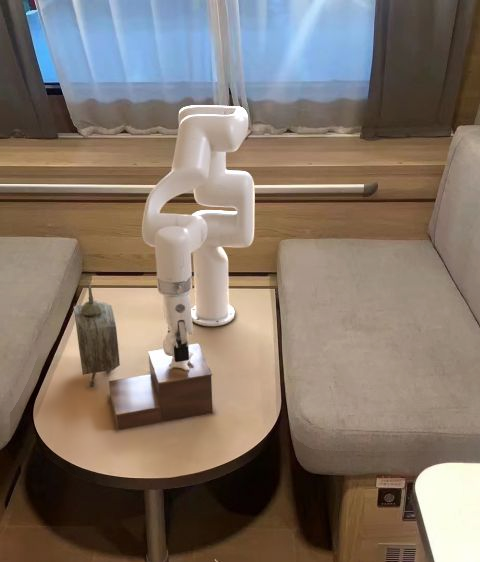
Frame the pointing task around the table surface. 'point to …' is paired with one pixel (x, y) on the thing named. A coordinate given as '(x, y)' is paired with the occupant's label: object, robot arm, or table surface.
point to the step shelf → (163, 391)
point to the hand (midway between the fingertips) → (178, 351)
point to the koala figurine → (169, 350)
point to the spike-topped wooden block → (96, 337)
